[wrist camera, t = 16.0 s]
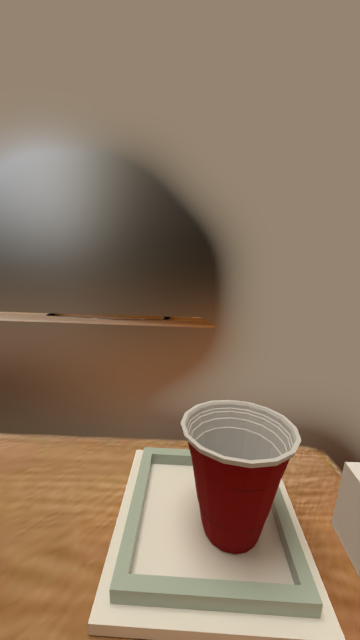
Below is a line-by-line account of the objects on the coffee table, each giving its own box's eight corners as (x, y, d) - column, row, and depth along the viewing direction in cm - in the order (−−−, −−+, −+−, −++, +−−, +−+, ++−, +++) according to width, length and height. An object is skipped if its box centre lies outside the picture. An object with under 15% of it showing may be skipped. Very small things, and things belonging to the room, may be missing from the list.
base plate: (88, 634, 21) (86, 609, 21) (136, 457, 40) (136, 440, 39) (343, 654, 21) (349, 627, 20) (272, 463, 39) (273, 447, 38)
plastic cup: (268, 484, 34) (278, 394, 31) (303, 587, 24) (325, 466, 21) (179, 480, 34) (181, 391, 31) (175, 580, 24) (179, 460, 21)
